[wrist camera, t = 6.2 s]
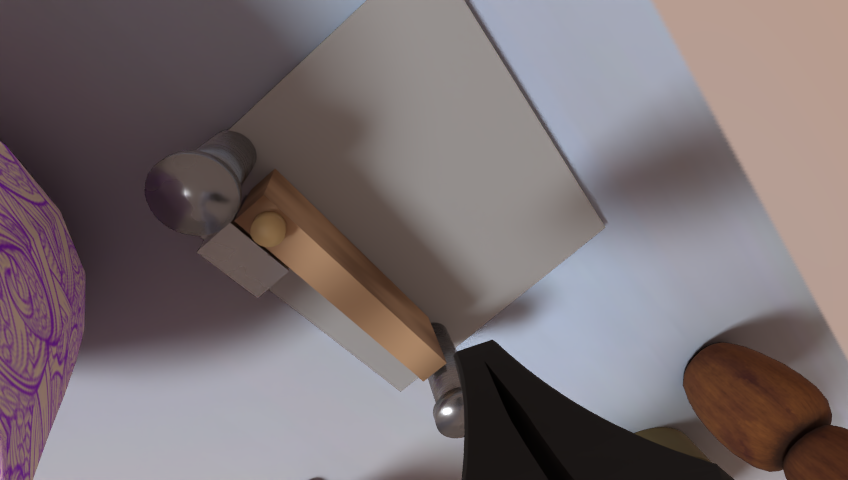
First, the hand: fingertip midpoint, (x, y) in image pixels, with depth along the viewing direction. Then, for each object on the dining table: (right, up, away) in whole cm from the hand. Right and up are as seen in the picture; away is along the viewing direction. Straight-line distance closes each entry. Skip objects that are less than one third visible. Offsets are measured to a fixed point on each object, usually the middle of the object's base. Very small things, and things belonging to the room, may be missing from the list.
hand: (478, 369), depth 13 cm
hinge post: (-1, -2, +12) cm, 12 cm away
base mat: (-3, +6, +8) cm, 10 cm away
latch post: (-10, +7, +6) cm, 13 cm away
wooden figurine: (+20, -6, +19) cm, 28 cm away
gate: (-6, +3, +8) cm, 10 cm away
